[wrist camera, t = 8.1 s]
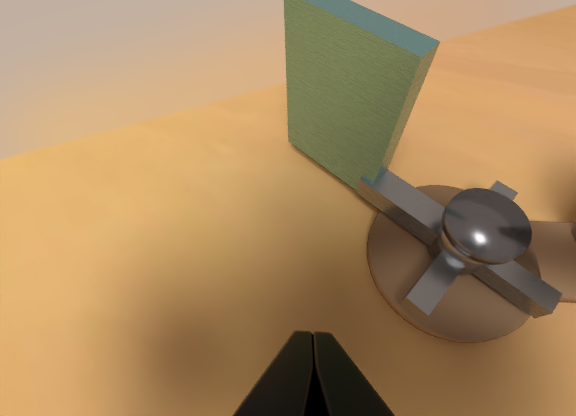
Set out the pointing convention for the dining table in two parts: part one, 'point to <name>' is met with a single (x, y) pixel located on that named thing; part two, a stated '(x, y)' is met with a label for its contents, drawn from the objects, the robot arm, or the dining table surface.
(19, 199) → the dining table surface
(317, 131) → the turnstile
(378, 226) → the stand
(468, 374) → the dining table surface
